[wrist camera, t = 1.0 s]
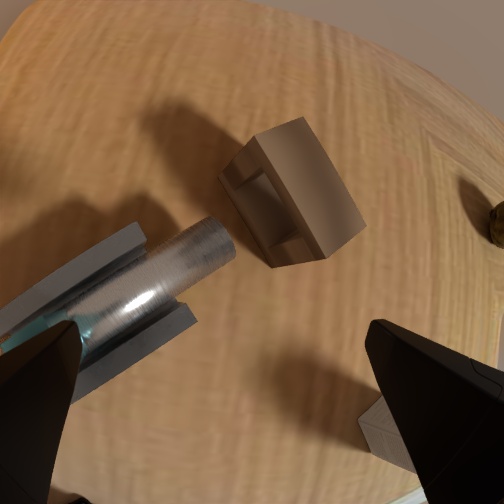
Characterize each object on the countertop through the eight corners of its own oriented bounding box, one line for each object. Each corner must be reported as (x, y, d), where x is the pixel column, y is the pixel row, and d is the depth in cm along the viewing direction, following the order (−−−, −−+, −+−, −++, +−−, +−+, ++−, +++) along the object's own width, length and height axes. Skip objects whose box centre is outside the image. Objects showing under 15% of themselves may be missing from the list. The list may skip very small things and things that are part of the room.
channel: (59, 396, 17) (45, 420, 12) (9, 317, 16) (-17, 322, 12) (183, 315, 21) (197, 321, 17) (134, 235, 20) (136, 220, 16)
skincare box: (396, 428, 27) (485, 456, 16) (370, 454, 26) (459, 492, 15) (384, 391, 27) (484, 414, 16) (355, 418, 25) (457, 456, 14)
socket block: (271, 268, 24) (326, 258, 17) (217, 176, 23) (254, 135, 17) (308, 242, 25) (366, 226, 19) (258, 157, 25) (303, 116, 18)
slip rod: (37, 384, 15) (-3, 429, 8) (11, 343, 14) (-43, 368, 7) (225, 261, 20) (279, 244, 13) (202, 221, 20) (243, 184, 13)
